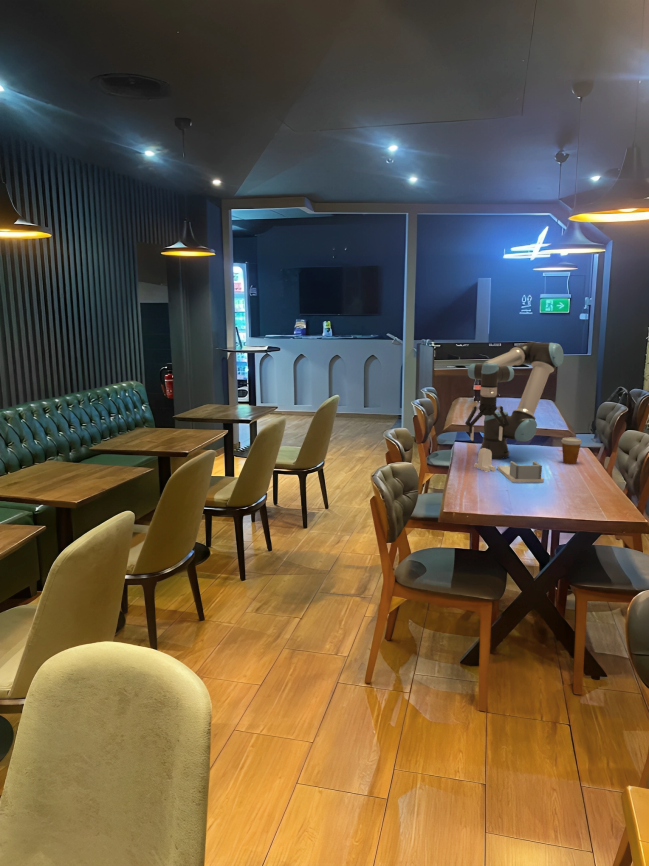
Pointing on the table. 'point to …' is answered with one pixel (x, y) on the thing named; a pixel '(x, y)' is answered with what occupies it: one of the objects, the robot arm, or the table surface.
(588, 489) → the table surface
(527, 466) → the dock
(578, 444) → the disposable coffee cup
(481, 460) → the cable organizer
